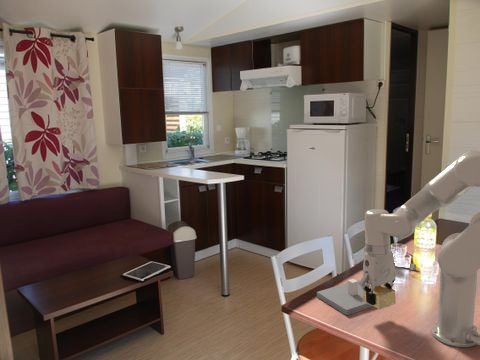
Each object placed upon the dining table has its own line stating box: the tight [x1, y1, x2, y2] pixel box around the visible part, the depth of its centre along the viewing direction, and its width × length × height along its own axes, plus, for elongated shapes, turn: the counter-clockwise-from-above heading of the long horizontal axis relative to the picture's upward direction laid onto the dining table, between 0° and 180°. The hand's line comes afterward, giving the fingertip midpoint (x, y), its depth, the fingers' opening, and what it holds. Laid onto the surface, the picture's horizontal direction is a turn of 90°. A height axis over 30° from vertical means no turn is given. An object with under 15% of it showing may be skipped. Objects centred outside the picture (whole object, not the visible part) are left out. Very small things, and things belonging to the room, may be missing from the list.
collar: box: [363, 284, 396, 310], centre depth 135 cm, size 7×7×4 cm
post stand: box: [316, 278, 374, 316], centre depth 150 cm, size 16×20×7 cm
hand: (379, 300), depth 135 cm, fingers closed on collar, 7 cm apart
